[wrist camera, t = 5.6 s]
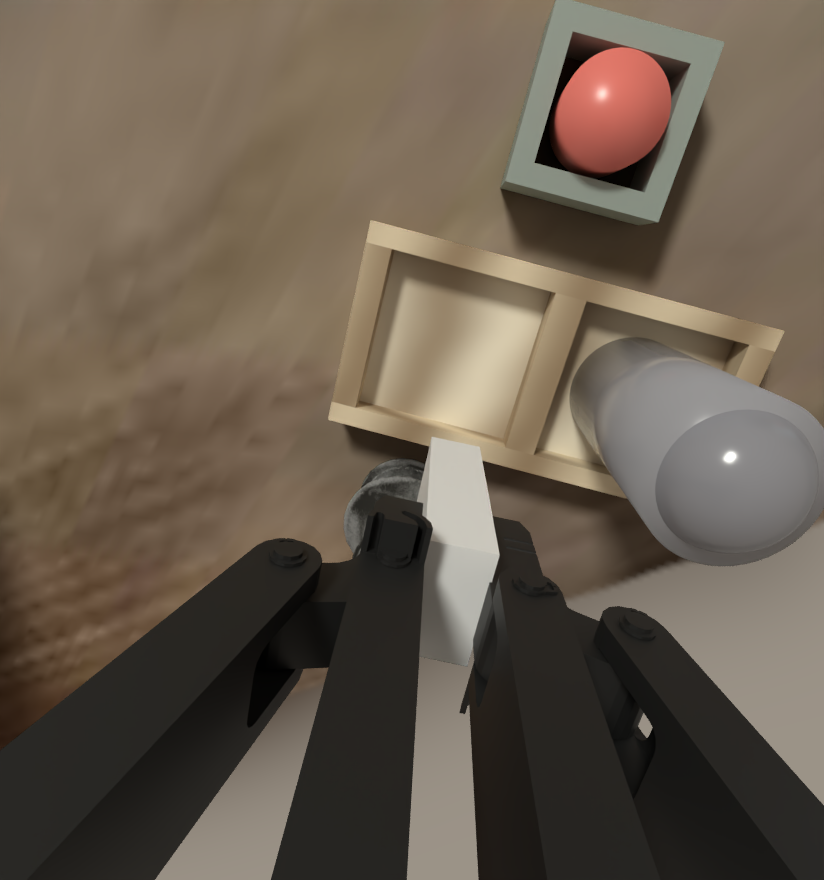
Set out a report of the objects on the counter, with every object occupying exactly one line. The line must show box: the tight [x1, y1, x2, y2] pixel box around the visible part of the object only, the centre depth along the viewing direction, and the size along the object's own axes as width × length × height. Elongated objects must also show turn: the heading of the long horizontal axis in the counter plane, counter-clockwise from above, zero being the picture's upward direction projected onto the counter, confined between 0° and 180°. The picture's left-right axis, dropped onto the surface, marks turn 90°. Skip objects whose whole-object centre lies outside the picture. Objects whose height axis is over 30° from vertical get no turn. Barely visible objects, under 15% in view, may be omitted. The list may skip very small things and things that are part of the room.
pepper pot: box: [569, 337, 824, 566], centre depth 23 cm, size 6×6×14 cm
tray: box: [328, 220, 784, 499], centre depth 30 cm, size 20×10×2 cm, turn 76°
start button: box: [549, 47, 671, 178], centre depth 25 cm, size 4×4×3 cm
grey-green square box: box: [500, 0, 725, 225], centre depth 26 cm, size 7×7×3 cm
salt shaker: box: [344, 458, 425, 559], centre depth 28 cm, size 6×6×12 cm
